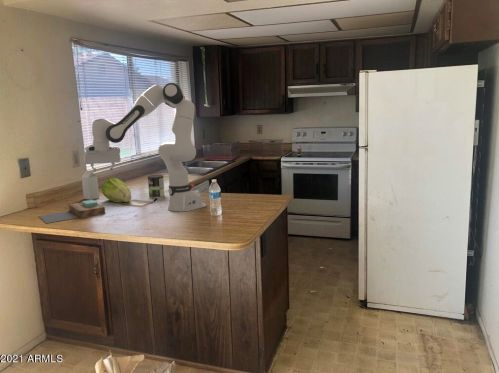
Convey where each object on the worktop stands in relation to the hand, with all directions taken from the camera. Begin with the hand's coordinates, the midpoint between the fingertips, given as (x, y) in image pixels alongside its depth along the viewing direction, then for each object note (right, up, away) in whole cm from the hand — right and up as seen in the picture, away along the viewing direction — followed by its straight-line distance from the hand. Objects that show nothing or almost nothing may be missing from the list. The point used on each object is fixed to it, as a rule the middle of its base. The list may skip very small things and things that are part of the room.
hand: (103, 171), depth 246 cm
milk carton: (-21, -17, +39) cm, 48 cm away
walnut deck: (-10, -24, +1) cm, 26 cm away
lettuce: (+1, -19, +28) cm, 34 cm away
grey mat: (-23, -26, -8) cm, 36 cm away
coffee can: (+23, -16, +38) cm, 47 cm away
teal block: (-8, -20, +1) cm, 22 cm away
